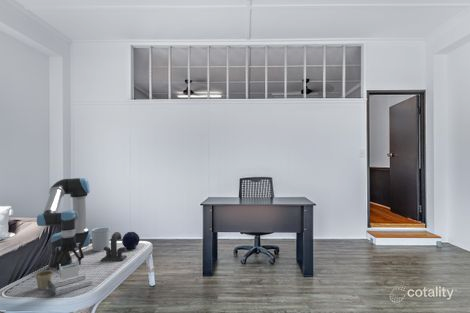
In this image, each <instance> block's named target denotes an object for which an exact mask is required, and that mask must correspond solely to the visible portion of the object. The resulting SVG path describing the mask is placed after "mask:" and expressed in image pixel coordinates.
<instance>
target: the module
mask: <svg viewBox="0 0 470 313" xmlns="http://www.w3.org/2000/svg"><path fill="white" fill-rule="evenodd" d="M78 276H79V271H78V265H77V264H76V263H70V264H68V265H65V266H61V276H59V278H60V279H61V281H62V280H63V281H64V280H66V279H67V280H68V279H70V278H71V279H72V278H76V277H78Z"/></svg>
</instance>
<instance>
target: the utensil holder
mask: <svg viewBox="0 0 470 313" xmlns="http://www.w3.org/2000/svg"><path fill="white" fill-rule="evenodd" d="M110 230H111V228H110V227H105V226H104V227H101V226H100V227H96V228H93V229H91V248H92V251H93V252H103V250H104V247H109V248H110V246H111V237H110V236H111V235H110V232H111V231H110Z"/></svg>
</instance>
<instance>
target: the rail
mask: <svg viewBox="0 0 470 313" xmlns="http://www.w3.org/2000/svg"><path fill="white" fill-rule="evenodd" d="M84 280H86V275H83V276H79V277H78V276H77V277H73V278H71V279H67V280H63V281H61V282H60V281H59V282H57V283H53V282H52V280H51V281H50V280H49V281H48V288H47V290H48V291H49V293H50V294H51V295H52V296H53V297H56V296H59V295H62V294H65V293H68V292H69V293H70V292H72V291H75V290H79V289H82V288H85V287H89V286H91V285H92V286H93V281H87V282H83V283H80V284H76V285H72V286H69V287H67V288H63V289H59V290H56V288H59V287H62V286H63V287H64V286H65V285H69V284H73V283H76V282H77V283H78V282H80V281H84Z"/></svg>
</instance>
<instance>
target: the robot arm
mask: <svg viewBox="0 0 470 313" xmlns="http://www.w3.org/2000/svg"><path fill="white" fill-rule="evenodd" d="M48 194H49V197H48V199H47V202H46V205H45V207H44V210H43V212H42V213H40V214H37V216H36V225H37V227H48V226H59V225H60V227H61V229H60V232H57V233H56V232H55V233H54V234H53V235H52V236H51V237H50V252H51V253H50V258H49V261H48V267H49V268H56V271H57V272H58V276H59V277H60V276H61V267H62V266H66V265H71V264H72V262H73V258H72V256H71V253H70V252H72V253H73V254H74V256H75V257H76V258H77V259H76V262H75V264H77V265H78V272H79V271H80V266H81V262H82V259H84V258H85V255H84V253H83V248H87V247H89V245H90V241H91V237H92V230H91V231H90V230H89V228H88V227H87V209H86V208H87V206H86V205H87V204H86V197H87V196H88V194H90V184H89V180H88V179H87V178H86V177H85V178H84V177H79V178H78V177H77V178H64V179H60V180H59V181H56V182H55V183H53V185H52V186H50V189H49V192H48ZM64 195H70V196H69V197H70V198H71V199H72V210H65V211H61V212H58V211H59V207H60V204H61V200H62V198H63V197H64ZM76 249H78V252H79V253H78V252H77V250H76Z"/></svg>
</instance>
